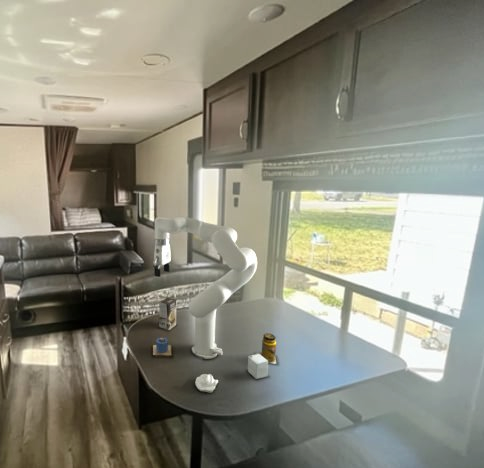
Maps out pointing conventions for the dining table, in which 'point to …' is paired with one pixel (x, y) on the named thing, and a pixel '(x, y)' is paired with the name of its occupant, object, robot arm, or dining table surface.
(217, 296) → the robot arm
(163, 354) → the dowel stand
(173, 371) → the dining table surface
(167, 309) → the coffee box
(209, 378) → the rose
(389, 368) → the dining table surface
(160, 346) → the spool
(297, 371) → the dining table surface
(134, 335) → the dining table surface
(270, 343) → the condiment
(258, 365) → the product carton
